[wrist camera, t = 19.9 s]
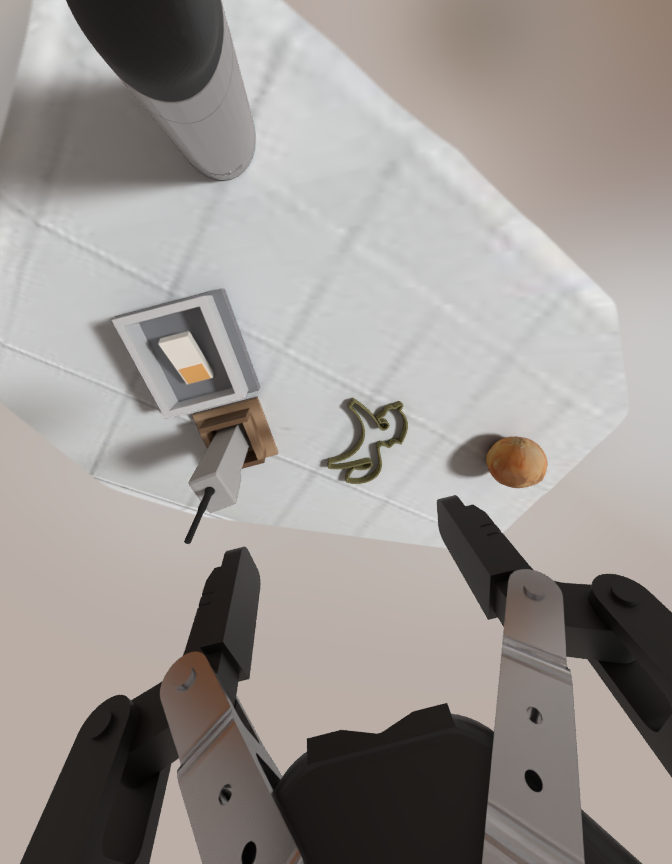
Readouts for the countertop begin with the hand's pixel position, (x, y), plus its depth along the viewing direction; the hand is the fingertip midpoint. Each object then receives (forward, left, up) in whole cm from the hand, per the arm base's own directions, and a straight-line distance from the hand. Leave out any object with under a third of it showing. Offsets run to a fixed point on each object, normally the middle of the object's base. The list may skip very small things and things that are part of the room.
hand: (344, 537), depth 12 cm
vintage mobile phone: (+10, -16, -39) cm, 43 cm away
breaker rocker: (-4, -17, -36) cm, 40 cm away
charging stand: (+10, -16, -40) cm, 44 cm away
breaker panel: (-4, -17, -40) cm, 43 cm away
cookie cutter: (+18, +6, -40) cm, 45 cm away
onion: (+28, +32, -40) cm, 58 cm away
